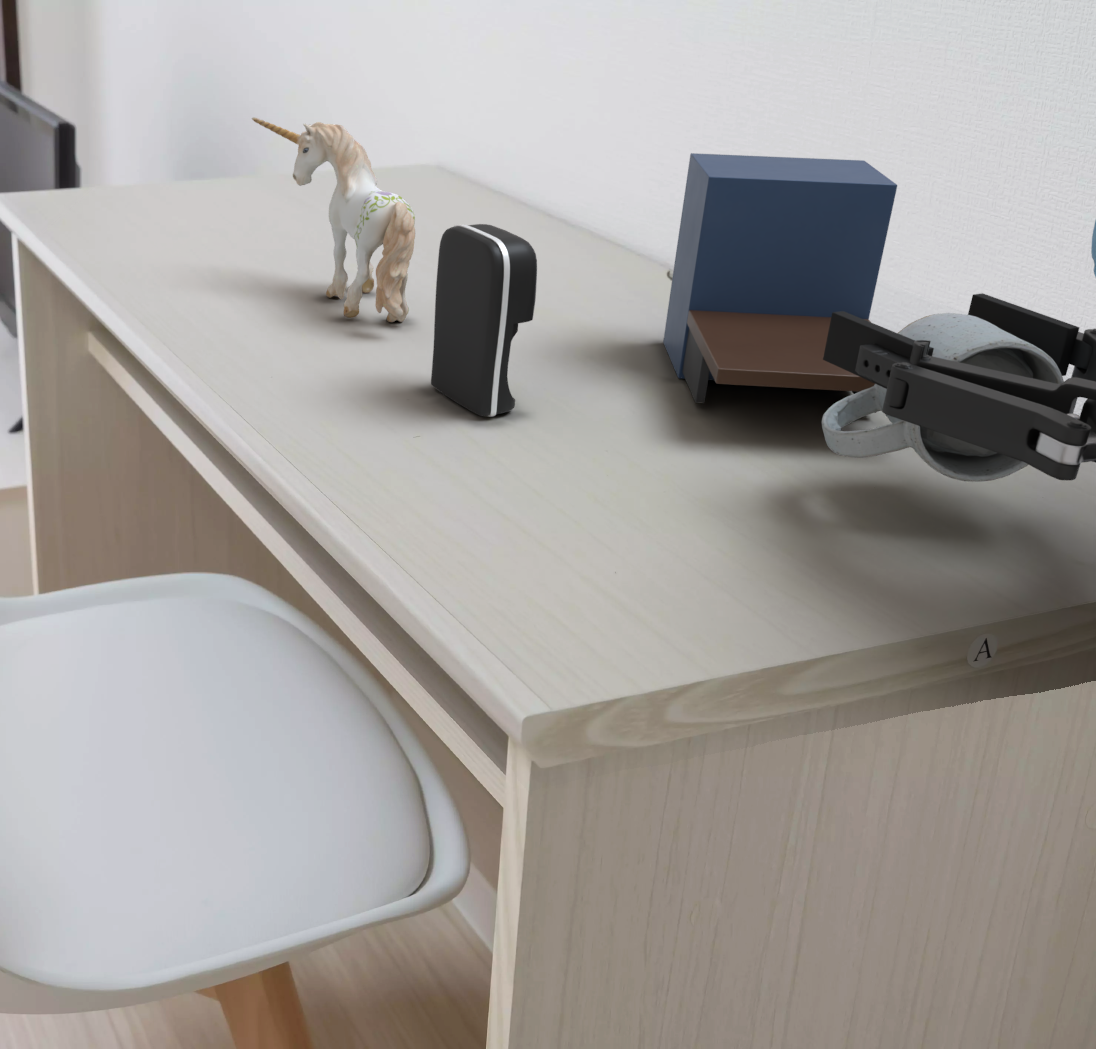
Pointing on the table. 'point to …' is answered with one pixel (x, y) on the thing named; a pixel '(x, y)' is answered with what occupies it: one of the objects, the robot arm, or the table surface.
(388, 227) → the unicorn figurine
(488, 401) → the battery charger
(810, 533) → the table surface
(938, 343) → the ceramic mug
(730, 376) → the blue chair shape
